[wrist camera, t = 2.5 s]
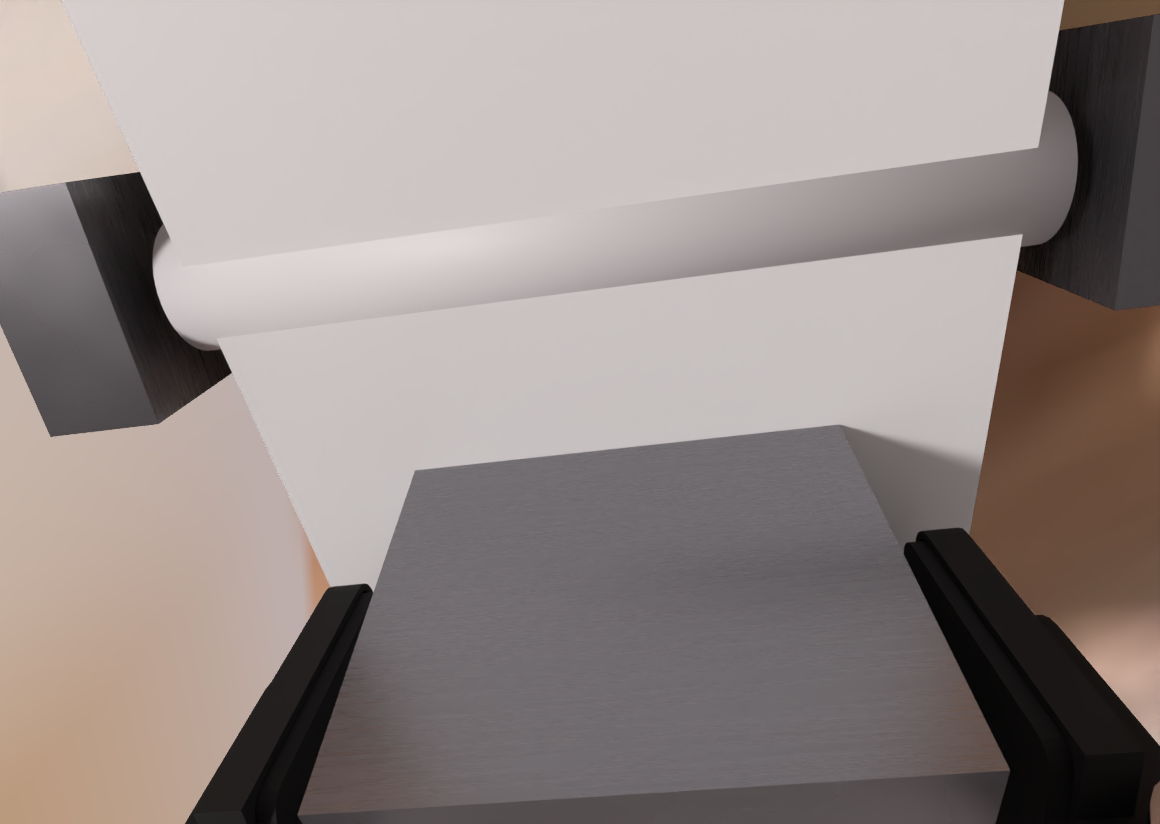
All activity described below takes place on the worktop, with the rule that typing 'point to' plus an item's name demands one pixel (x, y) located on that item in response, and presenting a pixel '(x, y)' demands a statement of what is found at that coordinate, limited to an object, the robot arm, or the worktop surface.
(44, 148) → the worktop surface
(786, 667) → the block
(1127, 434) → the worktop surface
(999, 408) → the worktop surface
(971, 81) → the balance beam
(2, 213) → the beam stand
